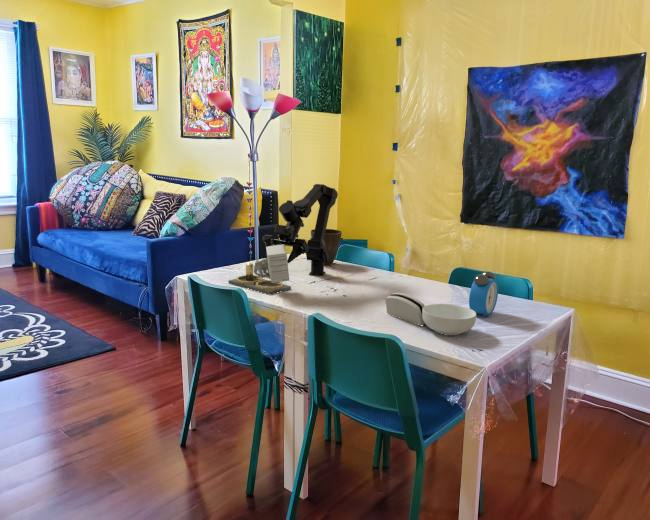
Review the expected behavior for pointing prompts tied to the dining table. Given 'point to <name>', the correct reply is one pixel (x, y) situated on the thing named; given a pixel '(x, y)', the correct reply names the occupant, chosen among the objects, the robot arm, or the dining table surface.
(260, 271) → the gray elephant figurine
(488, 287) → the alarm clock
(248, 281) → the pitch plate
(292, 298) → the dining table surface
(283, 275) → the supplement box
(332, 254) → the plant pot
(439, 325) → the cereal bowl
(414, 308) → the napkin holder
